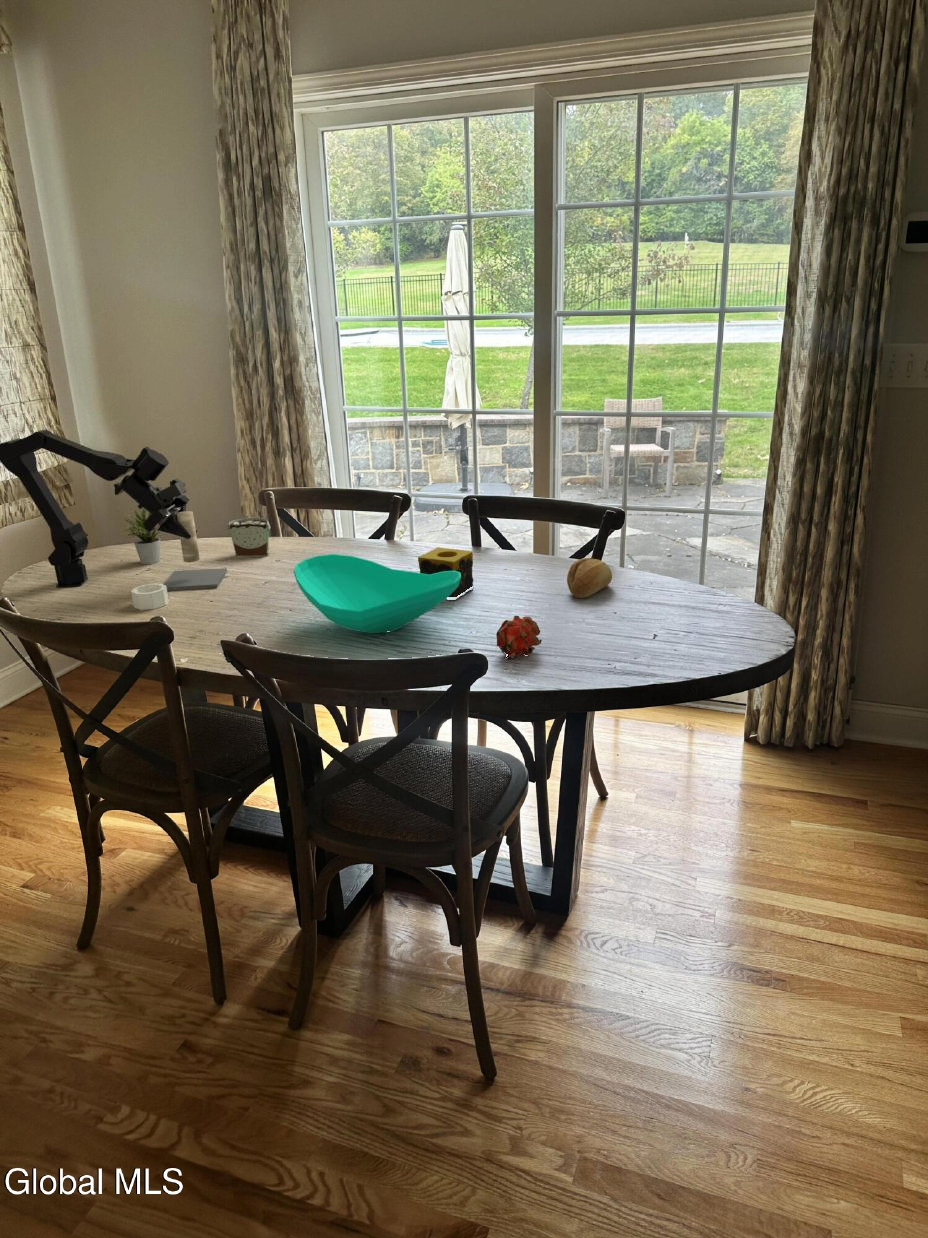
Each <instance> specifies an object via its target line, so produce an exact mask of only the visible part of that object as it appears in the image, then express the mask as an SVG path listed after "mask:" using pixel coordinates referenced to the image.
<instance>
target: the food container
mask: <svg viewBox="0 0 928 1238" xmlns="http://www.w3.org/2000/svg"><path fill="white" fill-rule="evenodd" d="M227 530H229V532H230V535H231V540H232V544H233V549H234V550H233V551H234V553H235V557H236V556H245V557H269V555H270V554H269V530H271V524H270V522H269V520H268V519H267V518H264V517H245V518H239V519H238V518H236V519H234V520H230V521H229V522H228V524H227Z"/></svg>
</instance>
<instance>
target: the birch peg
mask: <svg viewBox="0 0 928 1238" xmlns="http://www.w3.org/2000/svg"><path fill="white" fill-rule="evenodd" d="M177 520H178V522H179V523H180V524H181V525H182V526H183V527H184V528H185V529H186V530H187V531H188V532H189V534H190V535H191V537H190V538H189V539H186V538H183V537H180V536H179V538H180V539H179V540H180V545H181V552H182V558H183V562H185V563H194V562H198V561H200V554H199V553H200V552H199V546H198V539H197V533H196V530H197V529H196V524H195V517H194V512H193V511H191V510H186V511H183V512H179V513H177ZM195 529H196V530H195Z"/></svg>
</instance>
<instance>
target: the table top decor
mask: <svg viewBox="0 0 928 1238" xmlns="http://www.w3.org/2000/svg"><path fill="white" fill-rule="evenodd" d="M293 574H294V575H293V576H294V577H295V582H296V583H297V585H298V588H299V590H300V591H301V592H302V593H303V595H304V596H305V598H306V599H307V601H308V602H310V603H311V604H312V605H313V606H314V607H315V608H316V609H317V610H318V611H319V612H320V613H321V614H322V615H323V616H324V617H326V619H328V620H329V621H330V622H332V623H334V624H335V625H337V626H339V627H341V628H345V629H348V630H351V631H356V632H361V633H367V634H381V633H380V632H387V631H392V632H394V630H395V631H397V630H400V629H401V628H403V627H404V626H406V625H407V624H410V623H411V622H413V621H414V620H417V619H418V618H419V617H422V616H423V615H425V614H426V613H429V612H430V611H432V609H434V608H436V607H437V606H439V605H440V604H442V603H443V602H444V601H446V600H445V599H446V598H447V597H449V596H450V595H451V594H452V593H453V591H454V590H455V589H456V588H457V587H458V586H459V583H460V579H461V573H460V572H457V571H444V572H439V573H434V574H430V575H429V574H423V573H420V572H417V571H410V570H403V569H402V570H401V569H393V568H390V567H388V566H385V565H383V564H380V563H378V562H374V561H372V560H368V559H365V558H360V557H357V556H353V555H344V554H338V553H337V554H336V553H335V554H334V553H332V554H331V553H329V554H322V555H316V556H312V557H308V558H305V559H303V560H302V561H299V562H298V563H297V564H296V565H295V566H294V570H293ZM387 633H388V632H387Z"/></svg>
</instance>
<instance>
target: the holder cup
mask: <svg viewBox="0 0 928 1238" xmlns="http://www.w3.org/2000/svg"><path fill="white" fill-rule="evenodd" d="M163 584H164V583H160V582H159V583H145V584H142V585H139V586H135V587H133V589H132V590H131V591H130V594H131V598H132V600H131V601H132V605H133V608H135V609H137V610H140V611H143V610H146V611H147V610H155V609H159V608H161V607H162V608H163V607H164V606H165V607H166V606H167V605H168V603H169V602H170V601H169V594H168V591H167V587H166V585H163Z"/></svg>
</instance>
